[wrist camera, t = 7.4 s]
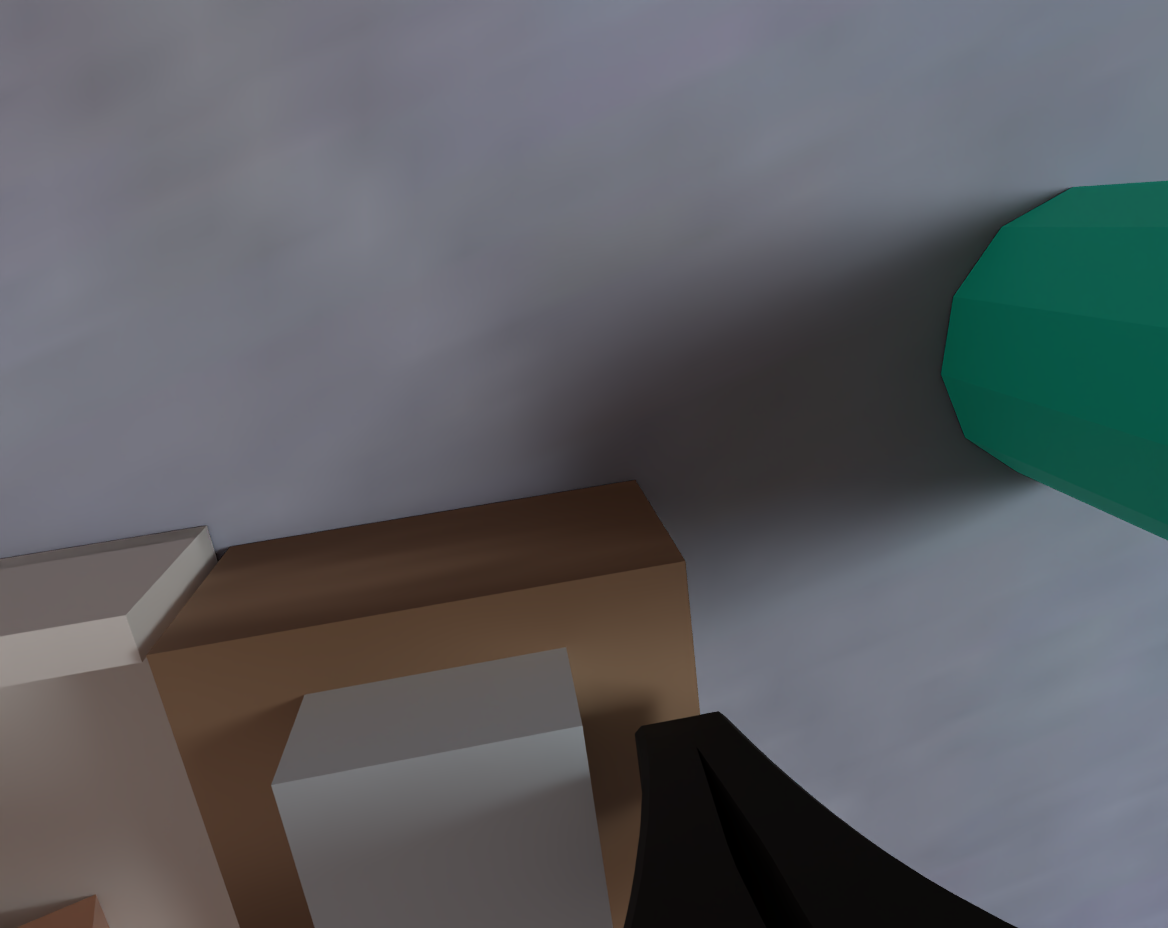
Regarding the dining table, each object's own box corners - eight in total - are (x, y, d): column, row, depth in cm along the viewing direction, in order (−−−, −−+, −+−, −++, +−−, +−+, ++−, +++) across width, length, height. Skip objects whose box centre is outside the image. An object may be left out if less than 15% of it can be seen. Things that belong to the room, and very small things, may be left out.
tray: (354, 1019, 19) (327, 1196, 15) (-19, 1101, 18) (-134, 1304, 15) (207, 525, 15) (125, 615, 11) (-280, 604, 14) (-520, 725, 11)
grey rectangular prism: (597, 851, 13) (616, 955, 11) (361, 899, 13) (341, 1015, 11) (565, 647, 12) (582, 725, 10) (304, 694, 12) (270, 785, 10)
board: (686, 931, 19) (737, 1103, 16) (362, 1001, 19) (333, 1199, 15) (635, 479, 16) (684, 560, 12) (230, 546, 15) (145, 655, 11)
